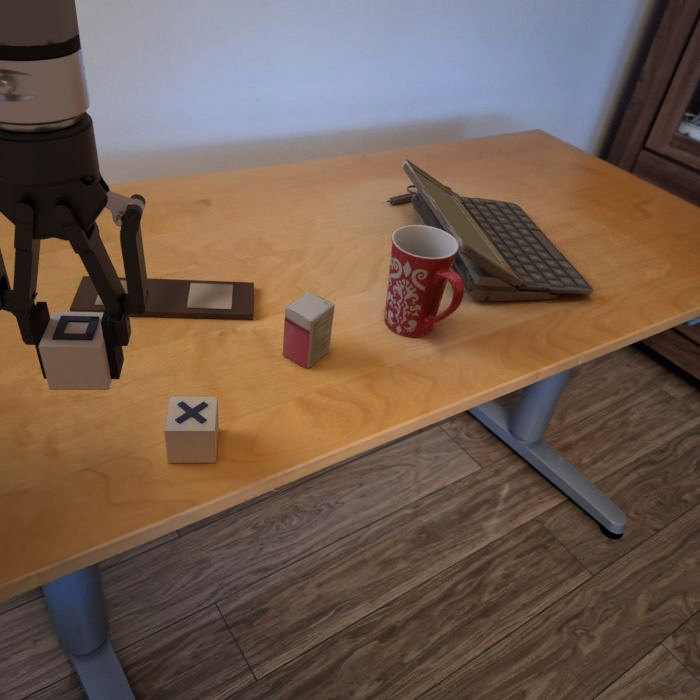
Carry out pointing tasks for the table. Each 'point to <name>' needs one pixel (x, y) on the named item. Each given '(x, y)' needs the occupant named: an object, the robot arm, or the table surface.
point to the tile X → (192, 429)
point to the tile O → (75, 352)
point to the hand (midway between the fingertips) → (84, 368)
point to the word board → (180, 299)
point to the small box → (307, 329)
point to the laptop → (494, 245)
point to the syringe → (405, 196)
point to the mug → (420, 279)
